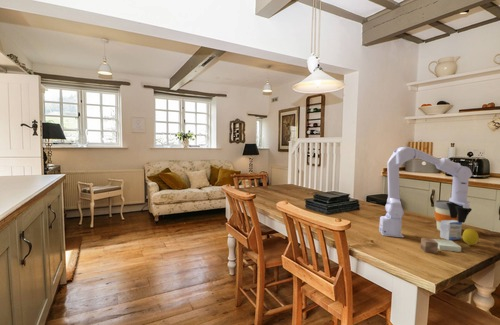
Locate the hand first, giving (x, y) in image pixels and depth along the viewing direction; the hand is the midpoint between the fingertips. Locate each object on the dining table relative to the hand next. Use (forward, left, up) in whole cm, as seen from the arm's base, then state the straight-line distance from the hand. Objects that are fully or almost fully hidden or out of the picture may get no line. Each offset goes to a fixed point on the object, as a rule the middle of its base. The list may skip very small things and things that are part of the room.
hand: (457, 220), depth 120 cm
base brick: (-9, -11, -10) cm, 17 cm away
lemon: (+3, -5, -10) cm, 12 cm away
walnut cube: (-18, -17, -10) cm, 27 cm away
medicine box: (-1, +3, -10) cm, 11 cm away
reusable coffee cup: (+4, +17, -10) cm, 20 cm away
